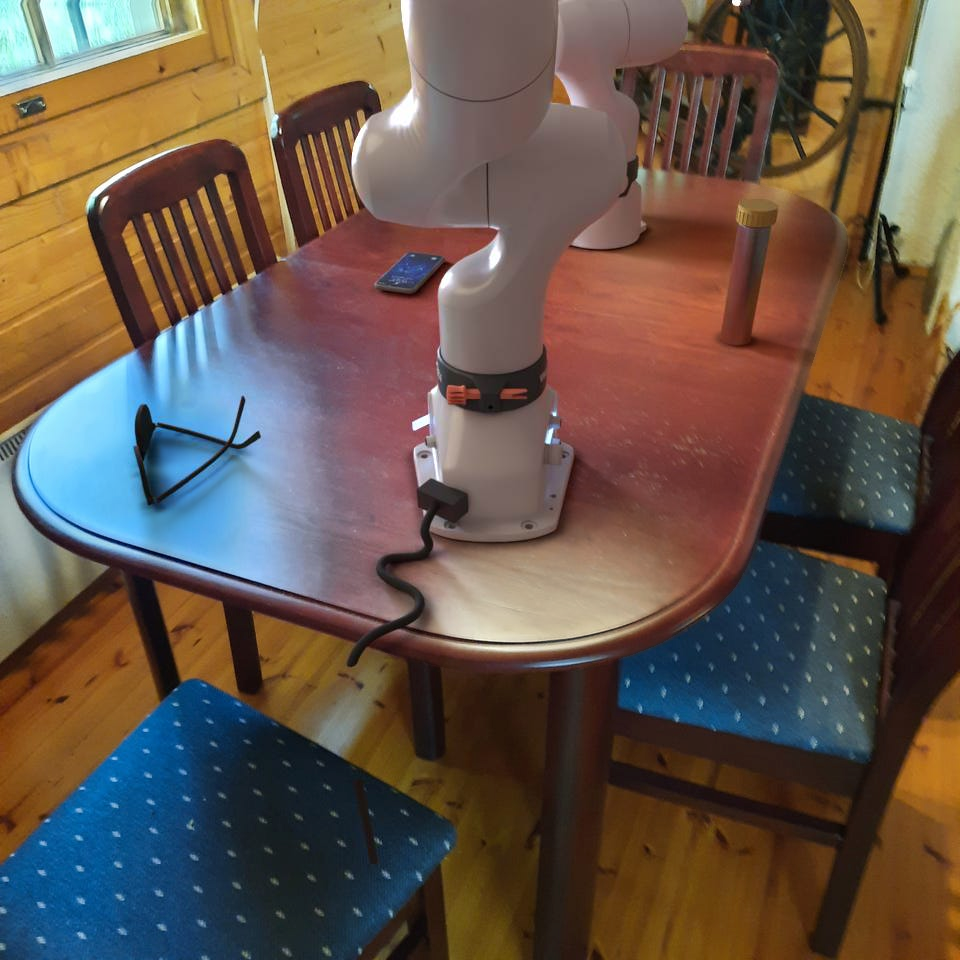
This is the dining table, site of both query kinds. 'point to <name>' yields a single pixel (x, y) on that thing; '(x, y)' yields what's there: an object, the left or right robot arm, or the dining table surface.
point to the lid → (757, 213)
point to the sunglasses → (147, 427)
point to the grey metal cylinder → (744, 284)
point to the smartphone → (409, 272)
